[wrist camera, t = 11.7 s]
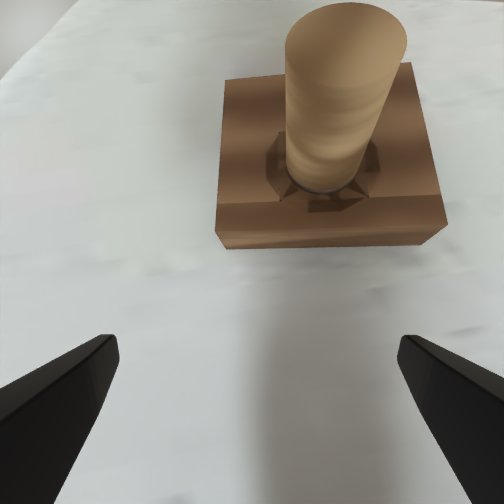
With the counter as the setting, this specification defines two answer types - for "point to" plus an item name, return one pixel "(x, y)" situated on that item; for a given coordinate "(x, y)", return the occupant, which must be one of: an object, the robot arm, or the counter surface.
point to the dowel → (337, 90)
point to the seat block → (324, 205)
